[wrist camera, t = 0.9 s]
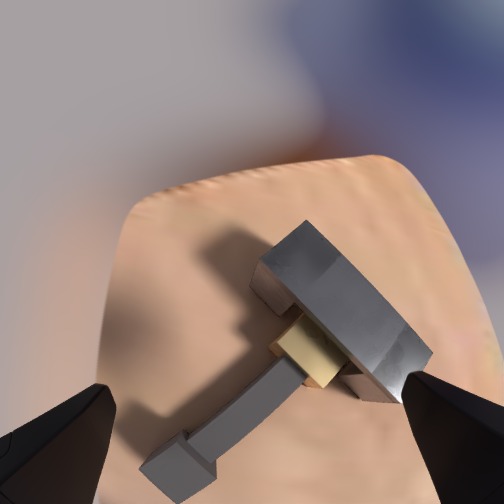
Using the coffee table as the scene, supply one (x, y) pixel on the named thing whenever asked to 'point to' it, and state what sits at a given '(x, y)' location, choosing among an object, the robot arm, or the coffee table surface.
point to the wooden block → (310, 351)
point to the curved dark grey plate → (342, 312)
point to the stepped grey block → (219, 433)
